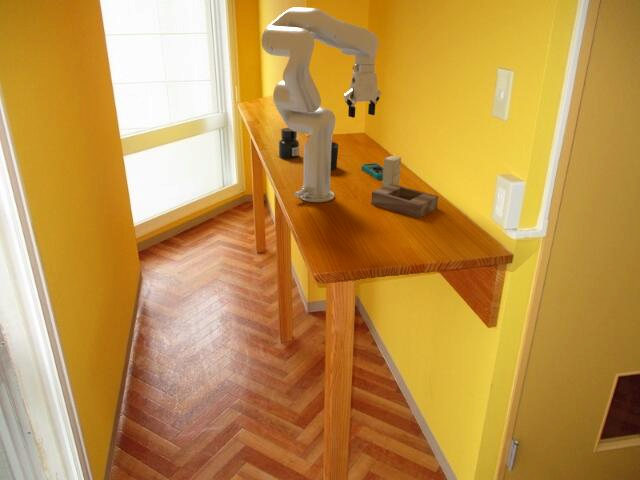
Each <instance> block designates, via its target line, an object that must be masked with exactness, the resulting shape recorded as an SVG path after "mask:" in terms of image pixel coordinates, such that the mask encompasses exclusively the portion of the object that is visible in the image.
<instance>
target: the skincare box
mask: <svg viewBox="0 0 640 480" xmlns="http://www.w3.org/2000/svg"><path fill="white" fill-rule="evenodd" d="M401 164H402V157H401V156H395V155H390V156H387V157H385V158H384V159H383V179H382V185H381V188H382V187H384V186H387V185H389V184H394V185H398V186H400V180H401V179H400V178H401Z"/></svg>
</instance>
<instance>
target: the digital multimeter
mask: <svg viewBox="0 0 640 480" xmlns="http://www.w3.org/2000/svg"><path fill="white" fill-rule="evenodd" d="M383 168H384V166H381V165H380V164H378V163H377V162H375V163H374V162H372V163H364V164H362V165H361V168H360V169H361V171H362V172H364V171H365V173H366V174H367V175H369V174H370V175H369V176H370V177H372V178H374V179H375V180H379V181H380V180H383Z"/></svg>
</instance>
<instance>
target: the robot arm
mask: <svg viewBox="0 0 640 480" xmlns="http://www.w3.org/2000/svg"><path fill="white" fill-rule="evenodd" d="M314 40H315V41H318V42H319V43H322V44H324V45H326V46H328V47H330V48H331V47H332V48H336V49H338V50H339V52H340V53H342V54H344V55H347V56H354V63H353V66H352V68H351V69H352V71H353V72H352V75H351V79H350V85H349V86H350V87H349V90H348V91H347V92H346V93H344V94H343V98H344V102H345V103H346V104H347V106H348V110H347V111H348V112H347V113H348V117H349V118H352V119H353V118H356V107H355V106H356V105H357V102H361V103H363V102H369V103H368V108H367V109H368V111H367V113H368V115H371V116H375V113H376V105H377V103H378V102H379V100H380V97H381V96H382V95H381V94H382V91H380V90H379V89H378V78H377V77H378V76H377V73H376V72H375V70H376V69H375V68H376V55H377V53H378V51H379V45H380V44H379V43H380V42H379V39H378V36H377V35H376V33H374V32H373V31H370V30H368V29H366V28H365V27H361V26H358V25H355V24H352V23H350V22H346V21H343V20H340V19H338V18H336V17H334V16H332V15H331V14H329V13H327V12H325V11H323V10H321V9H319V8H317V7H299V6H298V7H297V6H296V7H295V6H294V7H291V8H289V9H287V10H286V11H284V12H283V13H282V14H280V15H279V16H278V17H277V18H275V19H274V20H273V21H272V22H271V23H269V25H267V27H266V28H265V29H264V31H263V33H262V36H261V46H262V49H263V50H264V51H265V53H266V54H269V55H270V56H274V57H275V56H276V57H278V56H279V57H287V58H289V59H288V61H287V63H286V65H285V68H284V69H283V74H282V80H280V81H279V82H278V83H277V84H276V85H275V87H274V90H273V94H272V96H273V102H274V105H275V107H276V108H275V109H276V110H277V111H278V113H279V116H281V118H282V120H283V122H284V123H285V125H286V126H287V127H286V128H289V129H291V130H292V131H295V132H297V133H301V134H307V135H309V137H308V139H307V141H306V142H305V144H304V145H303V178H302V179H303V184H302V185H301V189H300V190H298V191H295V192H294V197H296V198H300V200H303V201H305V202H308V203H326V202H330V201H331V200H333V199H334V198H335V193H334V192H333V191H332V190H331V177H332V176H331V175H332V174H331V171H332V170H331V147H332V142H333V134H334V131H335V127H336V116H335V113H334V112H333V111H332V110H331V109H329V108H327V107H325V106H324V107H323V106H321V105H322V98H321V96H320V93H319V92H320V91H319V90H318V87H317V86H316V83H315V81H314V79H313V77H312V75H311V72H310V64H311V59H312V55H313V52H314V49H315V41H314Z"/></svg>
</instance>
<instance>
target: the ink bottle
mask: <svg viewBox="0 0 640 480" xmlns="http://www.w3.org/2000/svg"><path fill="white" fill-rule="evenodd" d="M280 131H281V132H280V133H281V134H280V135H281V139H280V140H279V141H278V155H279V157H280V158H283V159H296V158H299V155H300V142H299V140H298V139H297V138H298V132H295V131H292V130H291V129H289V128H288V127H283V128H281V130H280Z"/></svg>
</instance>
